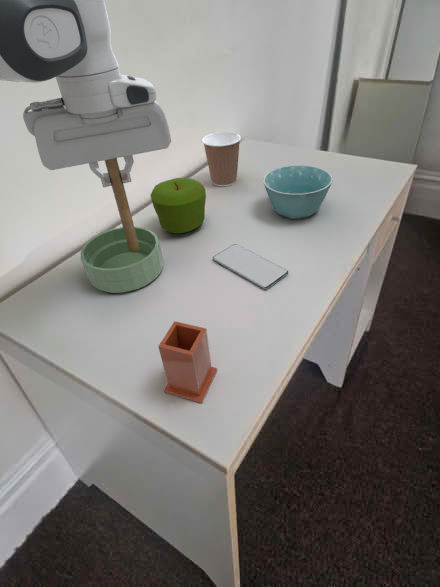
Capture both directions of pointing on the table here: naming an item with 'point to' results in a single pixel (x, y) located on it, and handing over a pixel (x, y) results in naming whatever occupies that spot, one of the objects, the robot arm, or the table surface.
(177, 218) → the apple
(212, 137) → the coffee cup
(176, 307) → the table surface
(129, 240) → the stirring stick
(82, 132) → the robot arm
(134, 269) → the green round dish
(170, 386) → the utensil holder
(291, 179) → the bowl
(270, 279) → the smartphone
